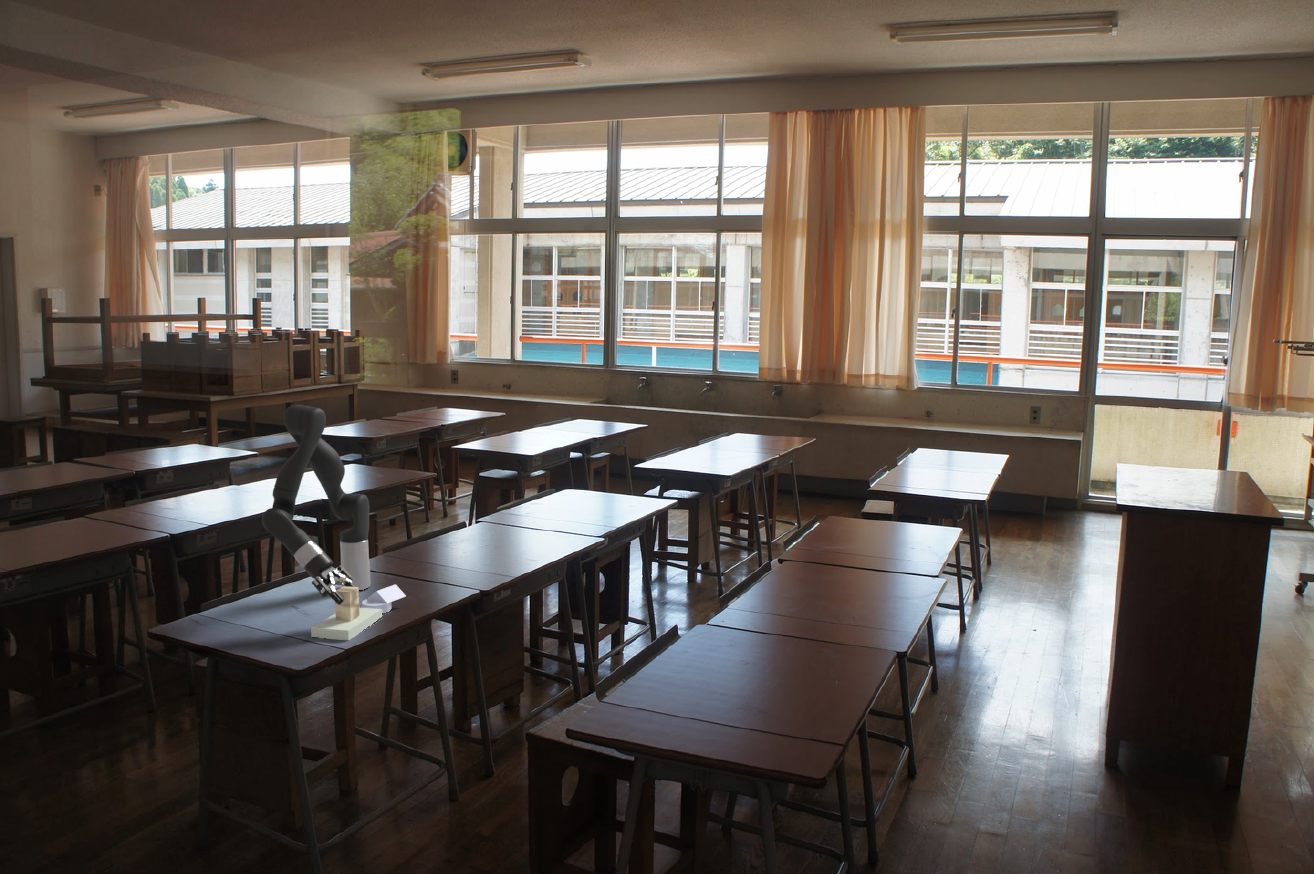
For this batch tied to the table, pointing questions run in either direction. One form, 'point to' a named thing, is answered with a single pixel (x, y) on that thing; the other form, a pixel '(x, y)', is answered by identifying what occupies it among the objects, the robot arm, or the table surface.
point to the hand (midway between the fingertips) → (349, 598)
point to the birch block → (348, 604)
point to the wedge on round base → (383, 598)
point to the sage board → (346, 625)
